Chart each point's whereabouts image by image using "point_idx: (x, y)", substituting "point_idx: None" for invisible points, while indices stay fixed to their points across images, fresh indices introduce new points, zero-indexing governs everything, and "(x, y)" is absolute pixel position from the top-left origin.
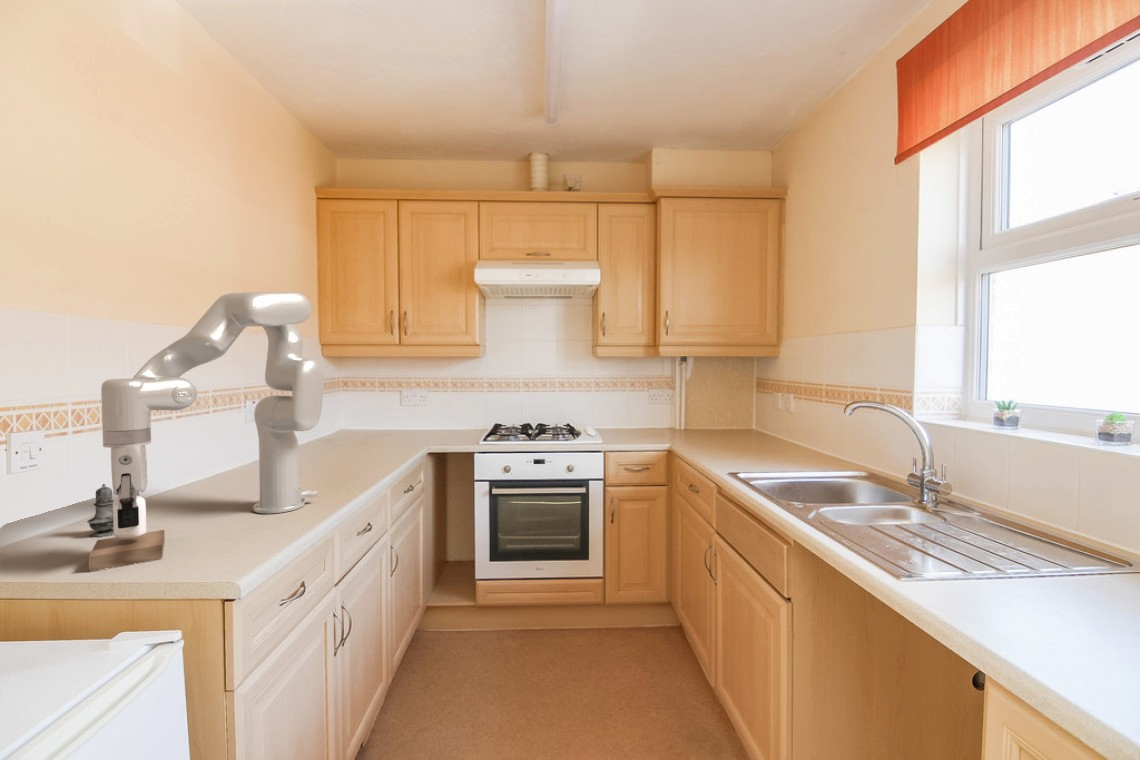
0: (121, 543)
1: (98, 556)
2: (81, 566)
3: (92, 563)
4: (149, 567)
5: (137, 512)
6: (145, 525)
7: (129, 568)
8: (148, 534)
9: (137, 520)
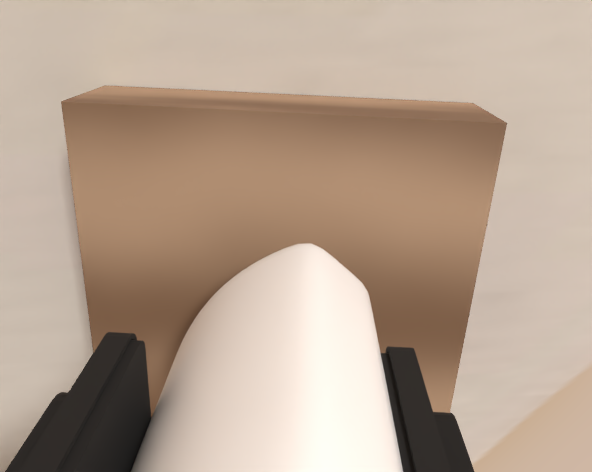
0: None
1: None
2: None
3: None
4: (586, 168)
5: (439, 452)
6: (326, 280)
7: (512, 256)
8: (141, 205)
9: (423, 384)
